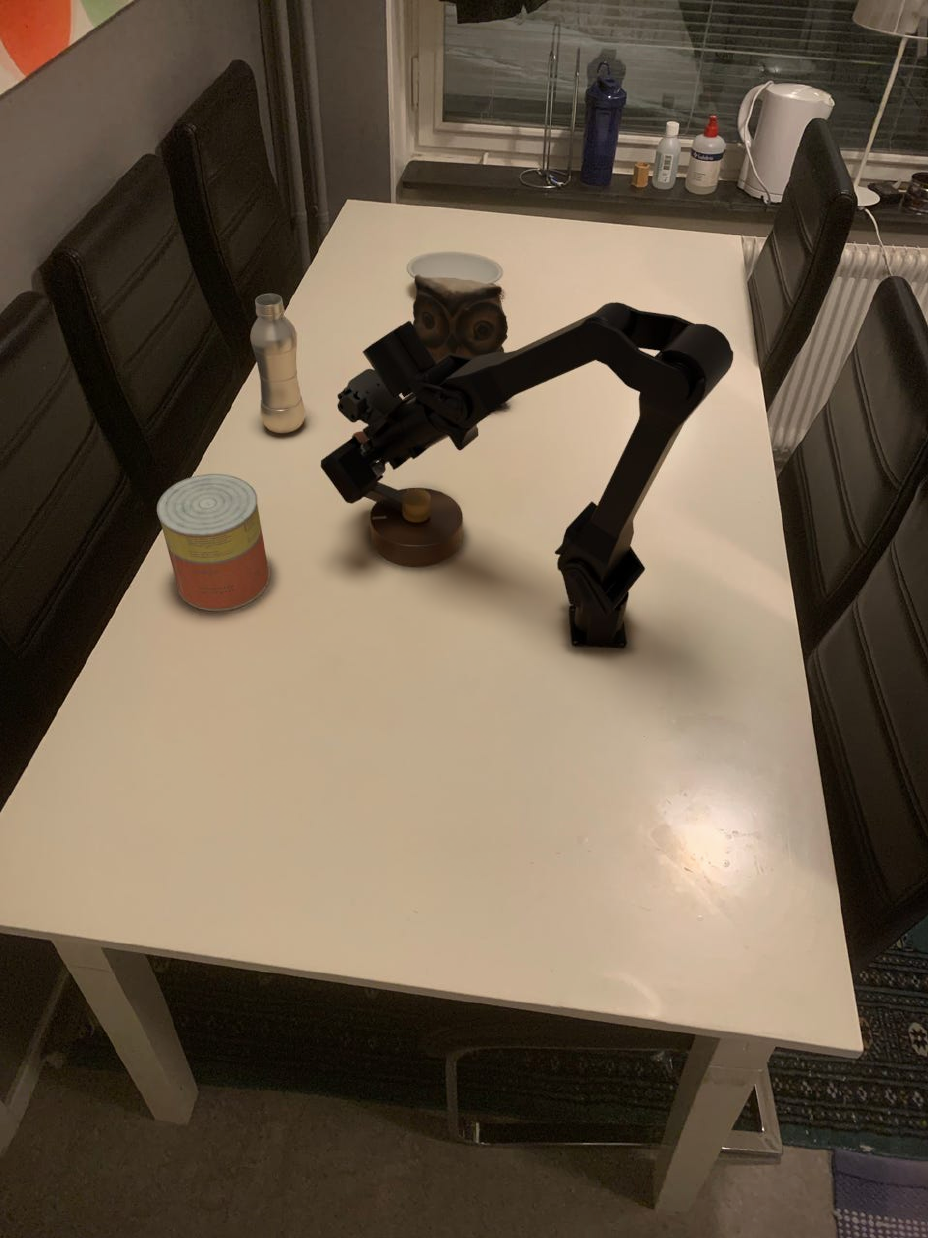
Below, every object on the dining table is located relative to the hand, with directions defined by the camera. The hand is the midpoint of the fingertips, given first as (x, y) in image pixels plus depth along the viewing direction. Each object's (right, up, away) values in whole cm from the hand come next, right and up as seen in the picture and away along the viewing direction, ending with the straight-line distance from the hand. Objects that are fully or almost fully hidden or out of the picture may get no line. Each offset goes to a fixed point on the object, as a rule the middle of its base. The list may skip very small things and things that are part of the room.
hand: (352, 464), depth 118 cm
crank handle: (+5, -5, +1) cm, 7 cm away
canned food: (-15, -15, -4) cm, 22 cm away
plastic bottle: (-13, +9, +20) cm, 25 cm away
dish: (+13, +40, +51) cm, 66 cm away
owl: (+15, +16, +27) cm, 35 cm away
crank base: (+8, -9, +3) cm, 12 cm away
